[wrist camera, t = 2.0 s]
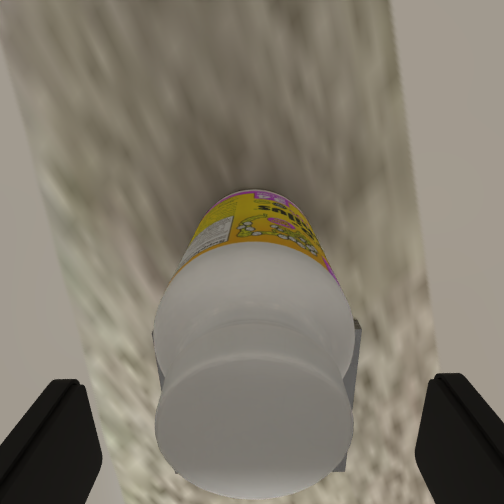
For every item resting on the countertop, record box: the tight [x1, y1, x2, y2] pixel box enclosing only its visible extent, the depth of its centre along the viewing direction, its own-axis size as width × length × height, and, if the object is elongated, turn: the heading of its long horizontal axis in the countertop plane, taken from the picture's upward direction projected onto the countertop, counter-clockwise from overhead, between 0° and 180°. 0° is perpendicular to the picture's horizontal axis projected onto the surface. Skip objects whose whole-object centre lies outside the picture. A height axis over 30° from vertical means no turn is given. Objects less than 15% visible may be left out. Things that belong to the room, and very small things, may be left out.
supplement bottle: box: [153, 189, 355, 499], centre depth 14 cm, size 7×7×13 cm
